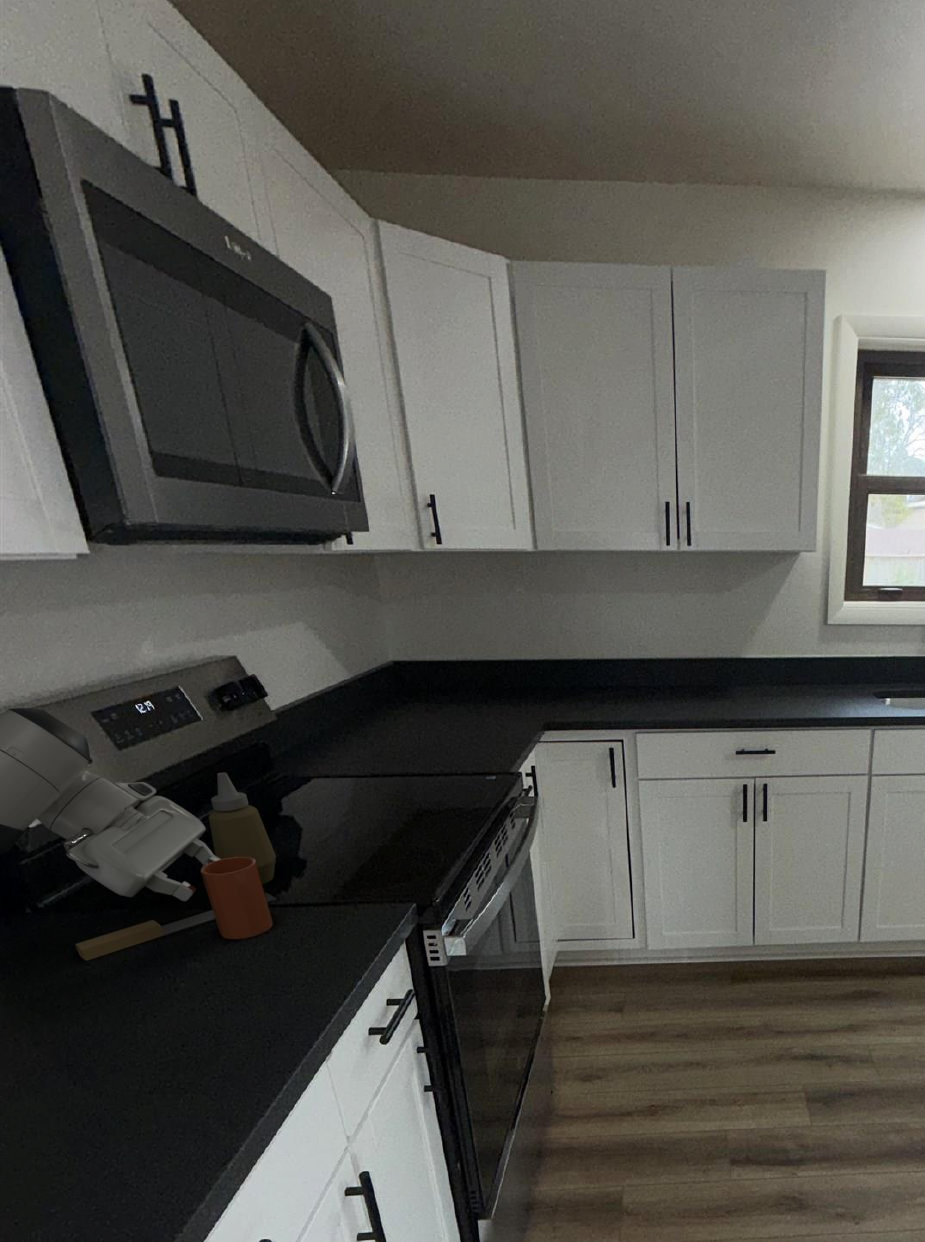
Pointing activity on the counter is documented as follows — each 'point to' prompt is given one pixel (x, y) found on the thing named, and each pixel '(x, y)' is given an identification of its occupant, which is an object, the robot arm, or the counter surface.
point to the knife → (140, 934)
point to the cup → (237, 897)
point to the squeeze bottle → (239, 829)
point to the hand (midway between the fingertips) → (206, 881)
